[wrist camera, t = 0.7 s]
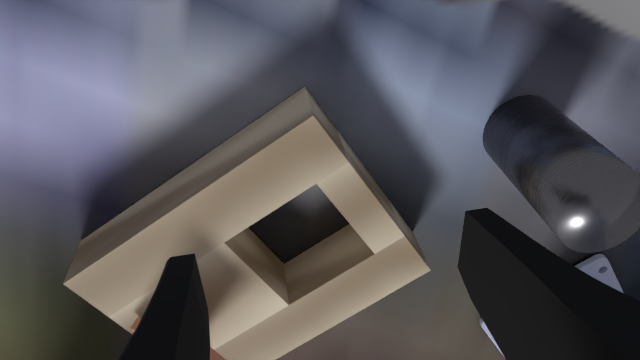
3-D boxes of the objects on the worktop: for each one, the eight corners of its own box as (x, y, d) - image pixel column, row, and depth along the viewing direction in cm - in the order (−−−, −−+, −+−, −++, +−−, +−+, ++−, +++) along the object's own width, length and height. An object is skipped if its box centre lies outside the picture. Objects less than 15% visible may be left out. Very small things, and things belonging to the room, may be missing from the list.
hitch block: (412, 232, 28) (430, 270, 25) (216, 349, 30) (214, 394, 28) (304, 86, 23) (313, 115, 20) (80, 240, 25) (63, 283, 23)
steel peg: (566, 137, 26) (663, 220, 20) (500, 176, 27) (575, 267, 21) (540, 80, 24) (639, 153, 18) (471, 124, 25) (543, 208, 19)
